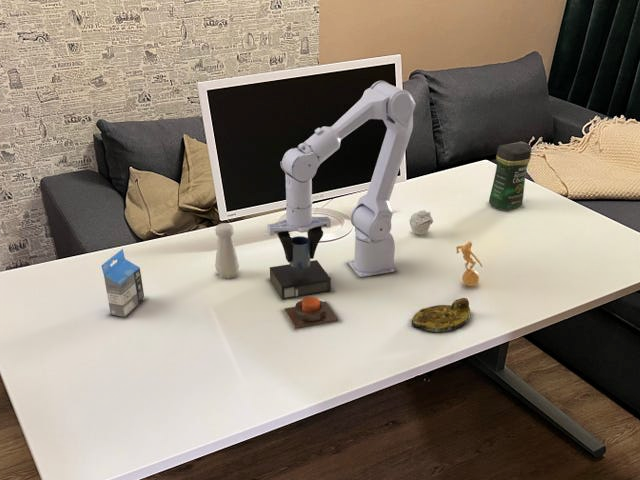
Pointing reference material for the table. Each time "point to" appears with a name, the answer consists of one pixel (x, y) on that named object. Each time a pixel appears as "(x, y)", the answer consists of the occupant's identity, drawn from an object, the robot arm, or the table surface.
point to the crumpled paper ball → (420, 222)
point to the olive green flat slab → (443, 316)
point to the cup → (300, 252)
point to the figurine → (470, 275)
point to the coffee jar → (510, 175)
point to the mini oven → (300, 280)
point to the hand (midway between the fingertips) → (299, 258)
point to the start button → (310, 304)
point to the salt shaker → (226, 251)
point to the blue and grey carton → (122, 285)
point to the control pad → (310, 315)
